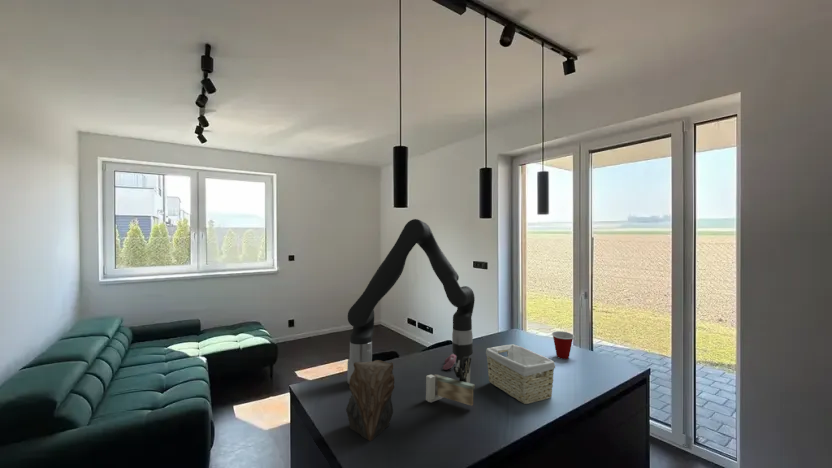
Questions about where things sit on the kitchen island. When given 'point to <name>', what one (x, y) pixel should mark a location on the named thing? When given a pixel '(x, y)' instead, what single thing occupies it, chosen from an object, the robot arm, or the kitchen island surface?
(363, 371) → the owl
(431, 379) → the gate posts
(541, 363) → the storage basket
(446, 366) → the video game controller
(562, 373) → the kitchen island surface
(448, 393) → the panel
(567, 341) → the plastic cup
